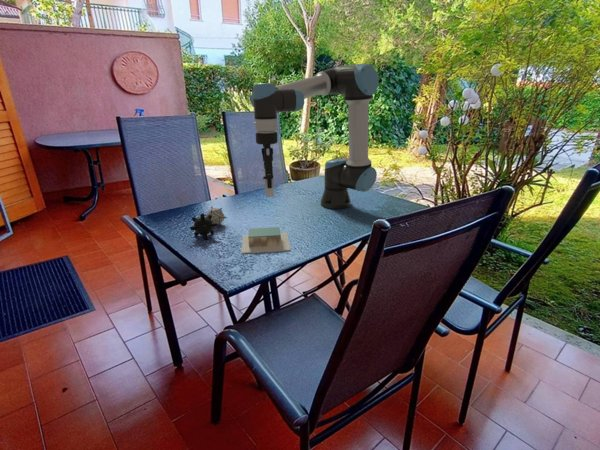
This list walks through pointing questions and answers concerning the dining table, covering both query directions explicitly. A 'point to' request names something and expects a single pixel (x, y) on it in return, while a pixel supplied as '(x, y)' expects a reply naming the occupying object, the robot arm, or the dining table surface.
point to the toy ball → (203, 225)
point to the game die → (216, 215)
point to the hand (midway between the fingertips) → (269, 191)
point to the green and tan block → (264, 237)
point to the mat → (283, 247)
